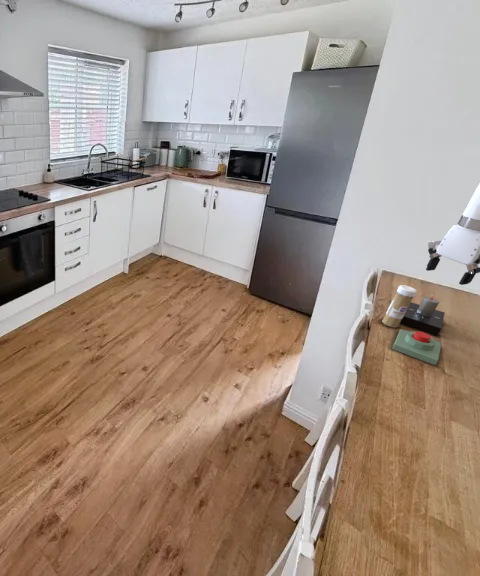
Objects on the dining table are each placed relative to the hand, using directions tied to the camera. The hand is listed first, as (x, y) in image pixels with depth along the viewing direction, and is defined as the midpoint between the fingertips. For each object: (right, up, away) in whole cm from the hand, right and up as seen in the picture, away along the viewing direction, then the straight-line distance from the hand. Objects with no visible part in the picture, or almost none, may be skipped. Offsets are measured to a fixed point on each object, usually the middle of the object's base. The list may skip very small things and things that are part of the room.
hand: (446, 276), depth 114 cm
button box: (-14, -21, -5) cm, 26 cm away
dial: (-1, -12, +7) cm, 14 cm away
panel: (-1, -15, +8) cm, 17 cm away
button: (-14, -19, -7) cm, 24 cm away
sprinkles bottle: (-13, -16, +6) cm, 21 cm away
